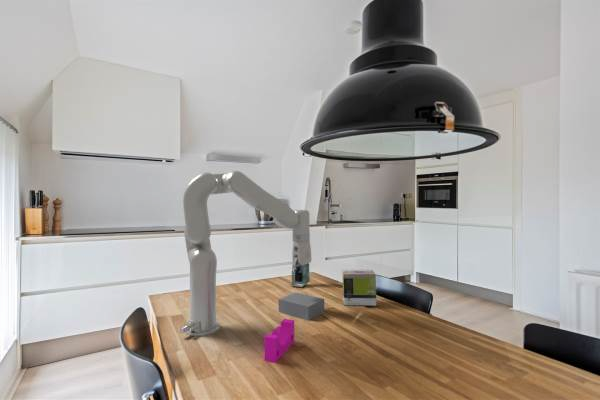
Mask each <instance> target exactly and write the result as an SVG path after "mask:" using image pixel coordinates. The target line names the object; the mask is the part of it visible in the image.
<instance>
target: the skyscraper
mask: <svg viewBox="0 0 600 400" xmlns="http://www.w3.org/2000/svg"><path fill="white" fill-rule="evenodd" d="M291 269H292V270H291V284H290V286H291V287H297V288H298V287H299V288H303V287H305V286H306V285H307V284H305V285H303V284H295V283H294V268H293V267H292V266H291Z"/></svg>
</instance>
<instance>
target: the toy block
mask: <svg viewBox="0 0 600 400" xmlns="http://www.w3.org/2000/svg"><path fill="white" fill-rule="evenodd" d="M263 339H264V340H263V341H264V343H263V344H264V345H263V346H264V348H263V350H264V354H263V355H264V361H266V362H271V363H277V362H278V360H279V359H280V358H282V356H283V354H284V353H285V352H286V351H287V350H288V349H289V348H290V346H291V345H292V344H293V343H294V342H295V320H294V319H288V318H284V319H282V320H281V322H280V325H277V327H276V328H275V327H274V329H273V330H272V333H271V334H269V333H267V334H266V335H265V336H264V338H263Z"/></svg>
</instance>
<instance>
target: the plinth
mask: <svg viewBox="0 0 600 400" xmlns="http://www.w3.org/2000/svg"><path fill="white" fill-rule="evenodd" d="M324 312H325V298H322V297H317V296H313V295H309V294H305V293H304V294H303V293H299V292H293V293H291V294H288V295H286V296H283V297H281V298H278V313H281V314H284V315H287V316H291V317H295V318H297V319H301V320H304V321H311V320H312V319H315V318H317V317H318V316H320V315H322V314H323V313H324Z"/></svg>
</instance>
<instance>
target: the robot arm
mask: <svg viewBox="0 0 600 400" xmlns="http://www.w3.org/2000/svg"><path fill="white" fill-rule="evenodd" d="M228 193H229V194H230V193H233V194H234V195H235V196H237V197H238V198H240V199H241V200H242V201H244V202H245V203H246V204H248V206H250V207H252V208H253V209H255V210H257V211H259V212H262V213H263V214H267V215H268V216H270V217H271V218H272V219H273V223H274V224H275V225H276V226H278V227H280V228H282V229H283V228H284V229H289V230H291V229H292V250H291V251H292V254H291V255H292V258H291V260H292V266H291V268H292V267H293V268H294V271H295V281H298V282H302V272H301V270H302V266H304V265H306V264H309V265H310V263H311V262H312V248H311V237H310V235H311V234H310V233H311V232H310V231H311V230H310V228H311V227H310V211H309V210H307V209H292V208H291V207H290V206H288V205H287V204H286V203H284V202H283V201H282V200H280V199H279V198H277V197H275V196H273V194H271V193H269V192H268V191H266V190H265V189H263V188H262V187H261V186H260V185H258V184H257V183H256V182H255V181H254V180H252V179H251V178H250V177H248V176H247V175H246V174H244V173H243V172H241V171H239V170H232V171H230V172H224V173H211V172H202V173H200V174H198V175H197V176H195V178H193V179H192V180H191V181H190V182H189V183H188V185H187V186H186V188H185V191H184V193H183V198H182V199H183V201H182V202H183V213H184V223H185V224H184V228H183V233H184V240H185V245H186V246H185V247H186V252H187V259H188V262H189V307H190V308H189V316H190V317H189V318H190V319H189V320H188V321H187V322H188V323H187V324H186V326H183V327H181V328H180V329H179V332H180V333H181V334H185V333H186V334H187V335H189V336H192V337H203V336H209V335H212V334H214V333H217V332H218V331H220V329H221V323H220V322H219V321H217V264H218V263H217V261H218V260H217V256H216V253H215V252H214V250H213V249H212V246H211V238H210V237H211V234H212V229H211V224H210V218H209V212H208V211H209V209H208V200H209V197H210V196H211V195H219V194H221V195H222V194H228ZM297 264H299V265H297ZM297 266H300V267H297Z"/></svg>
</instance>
